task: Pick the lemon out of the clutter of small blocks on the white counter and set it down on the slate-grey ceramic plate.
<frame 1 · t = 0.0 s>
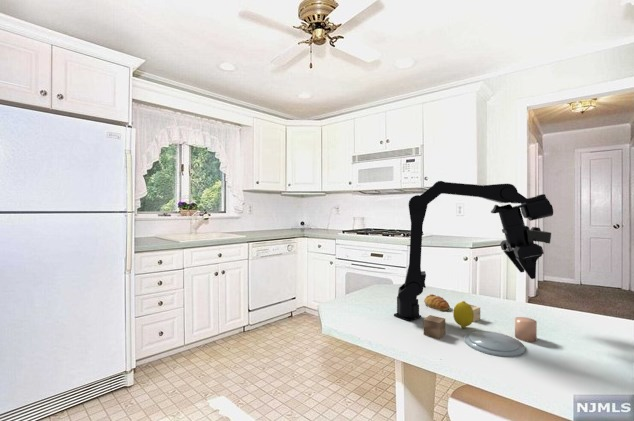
hand: (527, 275, 97), 15 cm above the table, tool pointing down, fingers open, 9 cm apart
walnut block: (434, 334, 93), on the table
pink cylinder: (525, 338, 90), on the table
beech block: (467, 318, 106), on the table
plate: (493, 344, 86), on the table
pastry: (437, 307, 118), on the table
lemon: (463, 328, 97), on the table
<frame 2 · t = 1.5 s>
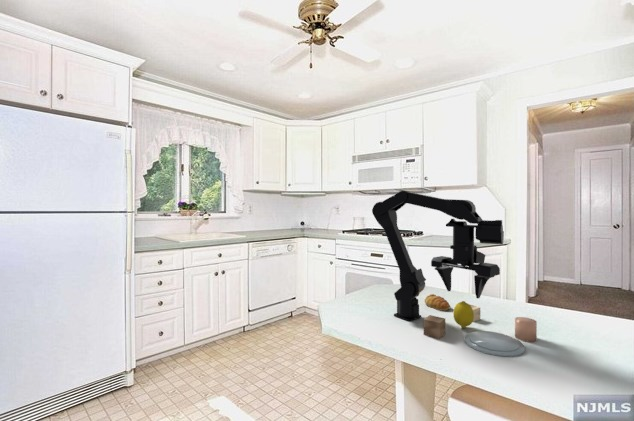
hand: (463, 294, 97), 10 cm above the table, tool pointing down, fingers open, 9 cm apart
nothing on the table moved.
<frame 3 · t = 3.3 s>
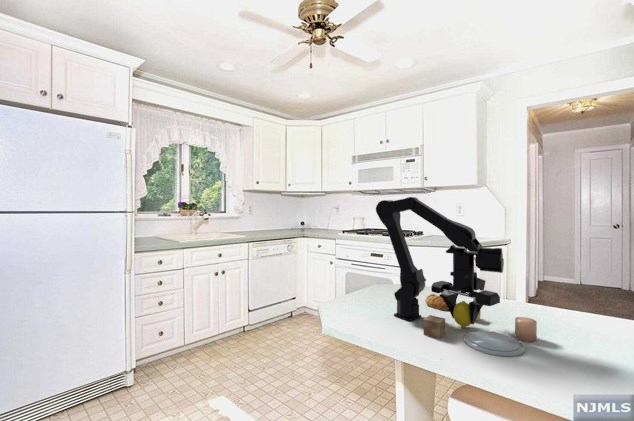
hand: (463, 321, 97), 2 cm above the table, tool pointing down, fingers closed on lemon, 5 cm apart
lemon: (463, 328, 97), on the table, touching gripper
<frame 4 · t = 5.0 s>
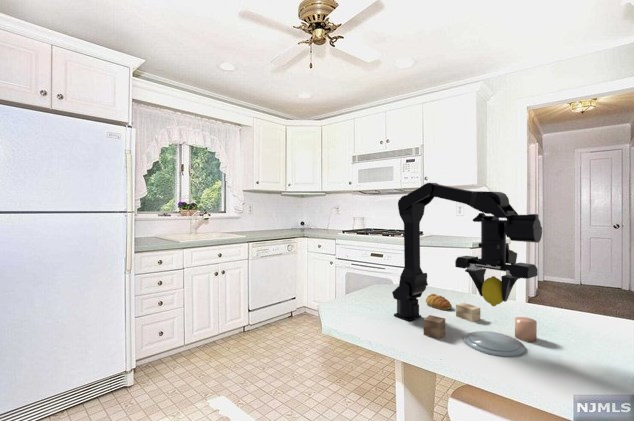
hand: (493, 298, 86), 12 cm above the table, tool pointing down, fingers closed on lemon, 5 cm apart
lemon: (493, 307, 86), point 10 cm above the table, touching gripper
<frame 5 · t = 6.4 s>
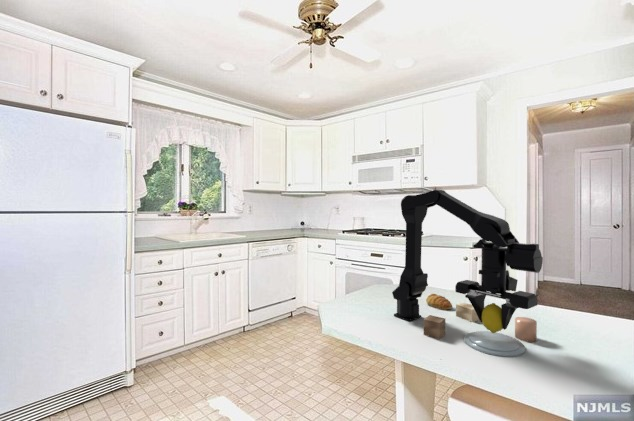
hand: (493, 325, 86), 5 cm above the table, tool pointing down, fingers closed on lemon, 5 cm apart
lemon: (493, 334, 86), point 3 cm above the table, touching gripper
when the fingers open (5 cm above the table, at t = 6.8 s): lemon drops 2 cm, resting on plate.
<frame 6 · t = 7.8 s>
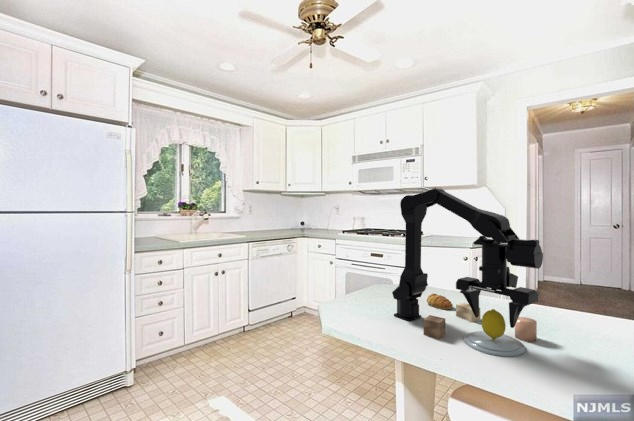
hand: (493, 322, 86), 6 cm above the table, tool pointing down, fingers open, 9 cm apart
lemon: (493, 340, 86), point 1 cm above the table, touching plate
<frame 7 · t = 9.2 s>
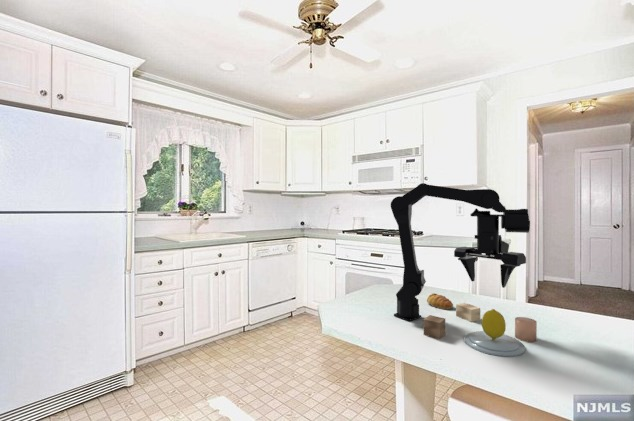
hand: (487, 284, 97), 13 cm above the table, tool pointing down, fingers open, 9 cm apart
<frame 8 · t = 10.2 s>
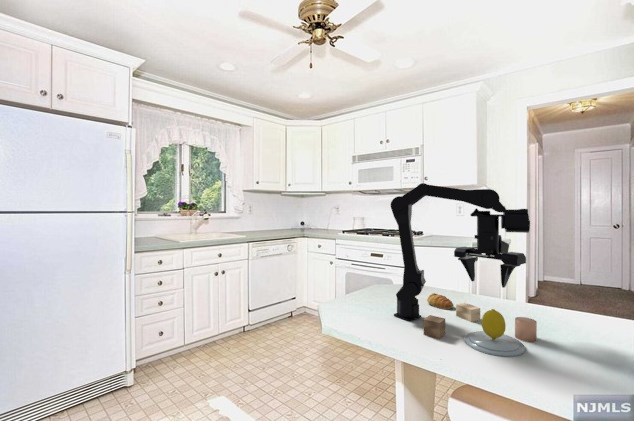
hand: (487, 284, 97), 13 cm above the table, tool pointing down, fingers open, 9 cm apart
at the end: lemon 0.1 cm from the plate (horizontally); lemon moved 11.7 cm from its start; the gripper is holding nothing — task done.
